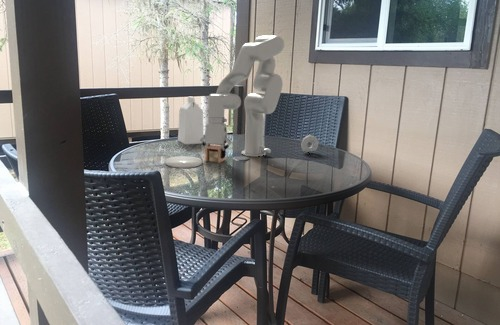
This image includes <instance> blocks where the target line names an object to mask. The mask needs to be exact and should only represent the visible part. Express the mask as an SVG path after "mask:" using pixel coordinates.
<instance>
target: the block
mask: <svg viewBox="0 0 500 325" xmlns="http://www.w3.org/2000/svg"><path fill="white" fill-rule="evenodd" d="M208 162H212V163H213V162H214V163H218V150H215V149H213V150H211V151H209V160H208Z"/></svg>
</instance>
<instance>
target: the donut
mask: <svg viewBox="0 0 500 325" xmlns="http://www.w3.org/2000/svg"><path fill="white" fill-rule="evenodd" d="M309 142H310V143H311V145H310V146H308V144H309ZM300 143H301V144H300V146H301V150H302V151H303V152H304V151H306V152H309V151H315V152H316V151H317V149H318V148H319V140H318V138H317V137H316V136H315V135H311V134H308V135H306V136H305V137H304V138H302V141H301V142H300Z"/></svg>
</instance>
